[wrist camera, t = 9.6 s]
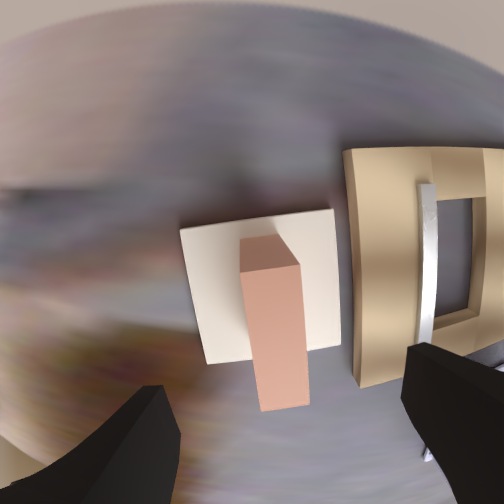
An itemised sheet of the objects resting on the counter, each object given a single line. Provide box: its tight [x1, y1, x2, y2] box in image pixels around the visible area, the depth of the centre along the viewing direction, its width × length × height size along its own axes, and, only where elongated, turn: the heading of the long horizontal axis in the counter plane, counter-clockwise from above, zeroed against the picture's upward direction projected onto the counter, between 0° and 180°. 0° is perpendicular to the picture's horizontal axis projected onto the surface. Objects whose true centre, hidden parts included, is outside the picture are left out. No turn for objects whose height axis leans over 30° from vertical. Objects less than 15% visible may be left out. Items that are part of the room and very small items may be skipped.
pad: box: [180, 208, 341, 364], centre depth 17 cm, size 8×8×1 cm
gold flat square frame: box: [342, 147, 504, 389], centre depth 16 cm, size 14×14×2 cm
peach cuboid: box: [240, 234, 310, 412], centre depth 14 cm, size 6×2×6 cm, turn 7°
